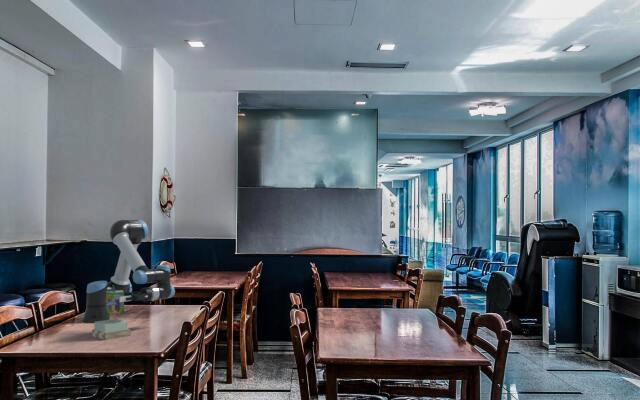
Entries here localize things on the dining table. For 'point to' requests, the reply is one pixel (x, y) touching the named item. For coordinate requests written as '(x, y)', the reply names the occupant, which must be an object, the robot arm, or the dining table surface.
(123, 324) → the top block
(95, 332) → the bottom block
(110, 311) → the chalk box
